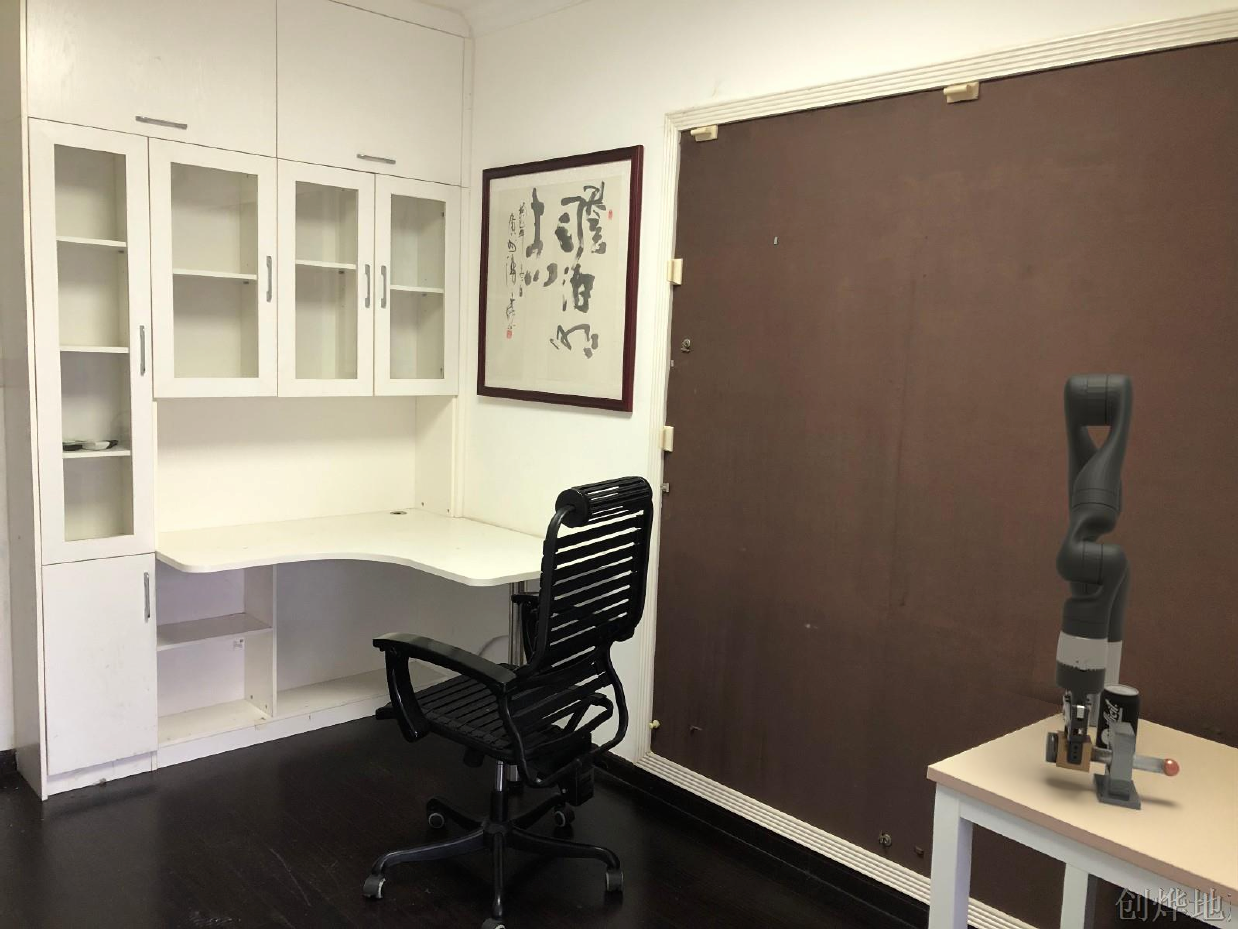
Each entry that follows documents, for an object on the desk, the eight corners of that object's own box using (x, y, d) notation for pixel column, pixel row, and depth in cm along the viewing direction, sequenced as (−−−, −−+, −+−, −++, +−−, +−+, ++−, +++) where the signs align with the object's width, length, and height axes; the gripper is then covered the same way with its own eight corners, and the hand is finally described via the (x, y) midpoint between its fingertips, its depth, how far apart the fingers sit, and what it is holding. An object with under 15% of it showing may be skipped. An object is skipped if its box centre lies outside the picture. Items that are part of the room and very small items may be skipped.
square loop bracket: (1093, 778, 166) (1099, 715, 165) (1132, 785, 164) (1138, 722, 163) (1098, 802, 157) (1105, 735, 156) (1140, 810, 155) (1147, 742, 153)
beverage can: (1139, 760, 175) (1146, 696, 174) (1100, 756, 177) (1107, 692, 175) (1128, 747, 182) (1134, 685, 180) (1090, 742, 183) (1096, 681, 182)
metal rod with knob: (1046, 766, 162) (1049, 737, 161) (1045, 755, 166) (1047, 727, 166) (1180, 790, 155) (1183, 759, 154) (1175, 778, 159) (1178, 749, 159)
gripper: (1054, 646, 169) (1045, 736, 170) (1059, 668, 155) (1049, 765, 157) (1101, 653, 166) (1092, 744, 167) (1111, 675, 153) (1100, 774, 154)
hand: (1071, 754), depth 162 cm, fingers open, 8 cm apart
